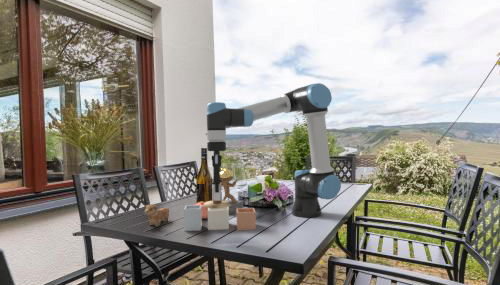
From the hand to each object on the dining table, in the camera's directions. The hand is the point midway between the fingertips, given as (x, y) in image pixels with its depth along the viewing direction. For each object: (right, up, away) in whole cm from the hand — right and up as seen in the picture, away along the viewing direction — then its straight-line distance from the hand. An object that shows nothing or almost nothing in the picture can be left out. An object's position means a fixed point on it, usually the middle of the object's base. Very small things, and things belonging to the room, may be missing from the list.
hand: (217, 199), depth 122 cm
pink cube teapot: (-10, -15, +30) cm, 35 cm away
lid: (0, -2, 0) cm, 2 cm away
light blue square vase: (-12, -15, +10) cm, 22 cm away
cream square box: (-1, -15, +12) cm, 19 cm away
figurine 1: (-30, -16, +21) cm, 40 cm away
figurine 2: (+2, -15, +39) cm, 41 cm away
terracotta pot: (+11, -15, +11) cm, 22 cm away
